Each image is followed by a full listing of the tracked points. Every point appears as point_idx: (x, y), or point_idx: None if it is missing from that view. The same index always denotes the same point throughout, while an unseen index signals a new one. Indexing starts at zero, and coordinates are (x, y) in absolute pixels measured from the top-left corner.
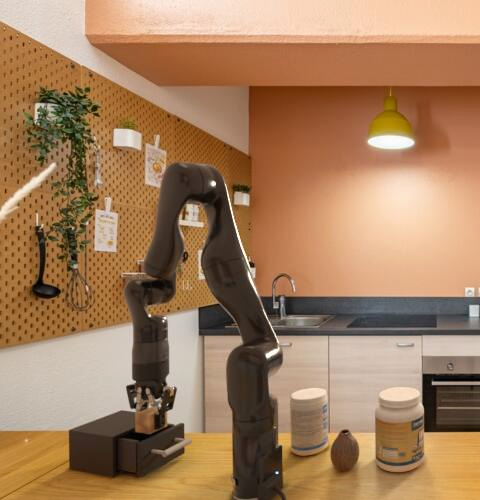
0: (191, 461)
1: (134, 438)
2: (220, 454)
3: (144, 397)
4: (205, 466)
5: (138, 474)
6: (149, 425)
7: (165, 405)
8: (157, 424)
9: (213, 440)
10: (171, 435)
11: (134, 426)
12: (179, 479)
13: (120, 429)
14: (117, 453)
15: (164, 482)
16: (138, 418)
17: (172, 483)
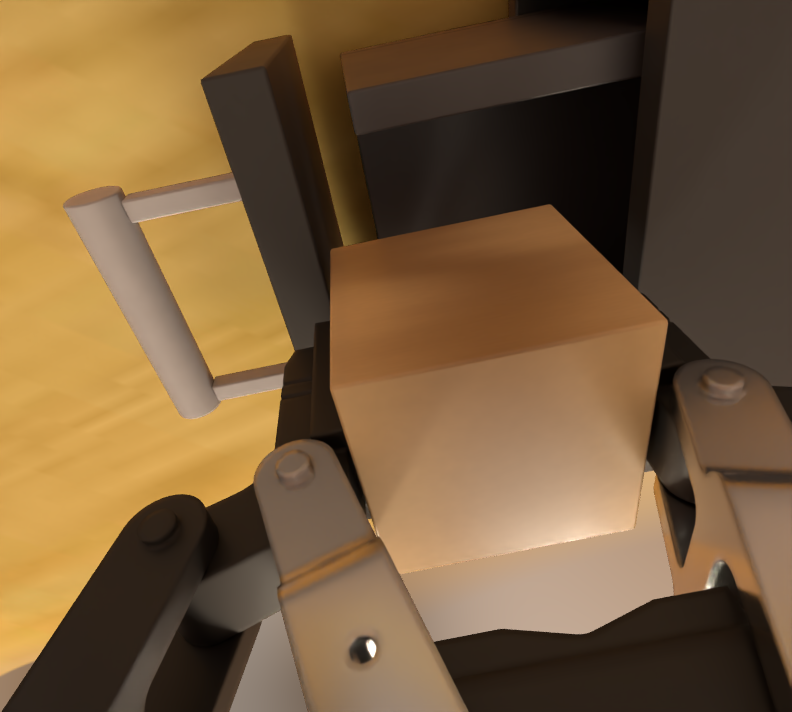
0: (250, 329)
1: None
2: (194, 428)
3: (699, 666)
4: (114, 335)
5: (277, 37)
6: (332, 297)
7: (40, 656)
8: (314, 362)
9: None
10: None
11: (671, 261)
12: (62, 184)
13: (774, 142)
14: (580, 17)
15: (99, 114)
16: (556, 292)
17: (38, 133)
